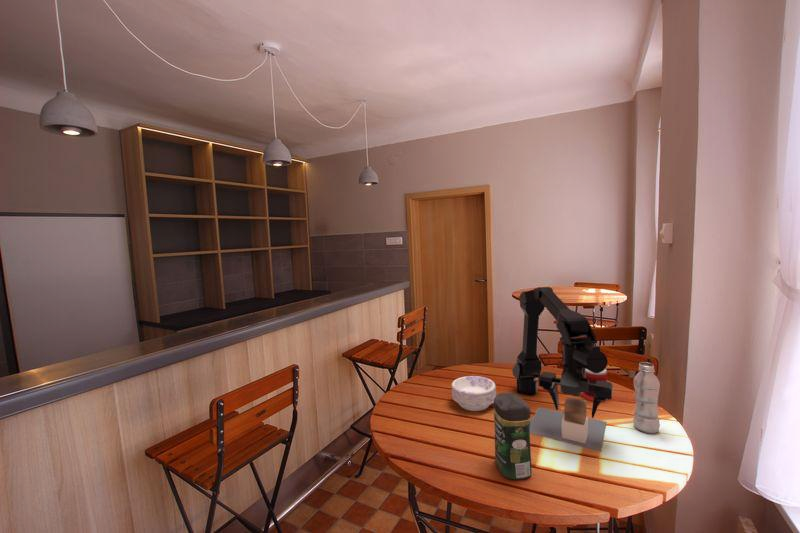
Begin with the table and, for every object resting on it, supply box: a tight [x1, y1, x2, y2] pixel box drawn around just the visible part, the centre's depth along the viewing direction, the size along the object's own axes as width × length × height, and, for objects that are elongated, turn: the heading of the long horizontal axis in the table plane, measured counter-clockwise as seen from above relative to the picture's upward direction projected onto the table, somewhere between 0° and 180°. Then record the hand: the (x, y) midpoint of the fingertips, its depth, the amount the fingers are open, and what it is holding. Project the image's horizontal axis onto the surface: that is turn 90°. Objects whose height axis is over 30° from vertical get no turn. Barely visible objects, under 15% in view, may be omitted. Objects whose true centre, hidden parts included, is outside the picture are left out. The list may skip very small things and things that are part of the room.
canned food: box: [582, 368, 608, 403], centre depth 126 cm, size 8×8×11 cm
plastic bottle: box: [632, 362, 661, 435], centre depth 104 cm, size 6×7×20 cm
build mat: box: [530, 407, 608, 453], centre depth 108 cm, size 20×18×1 cm
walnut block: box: [563, 396, 587, 425], centre depth 102 cm, size 5×5×5 cm
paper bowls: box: [451, 375, 497, 412], centre depth 125 cm, size 15×15×8 cm
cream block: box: [562, 416, 589, 443], centre depth 102 cm, size 6×6×5 cm
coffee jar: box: [493, 392, 533, 481], centre depth 89 cm, size 10×8×19 cm
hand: (574, 413), depth 102 cm, fingers open, 9 cm apart
